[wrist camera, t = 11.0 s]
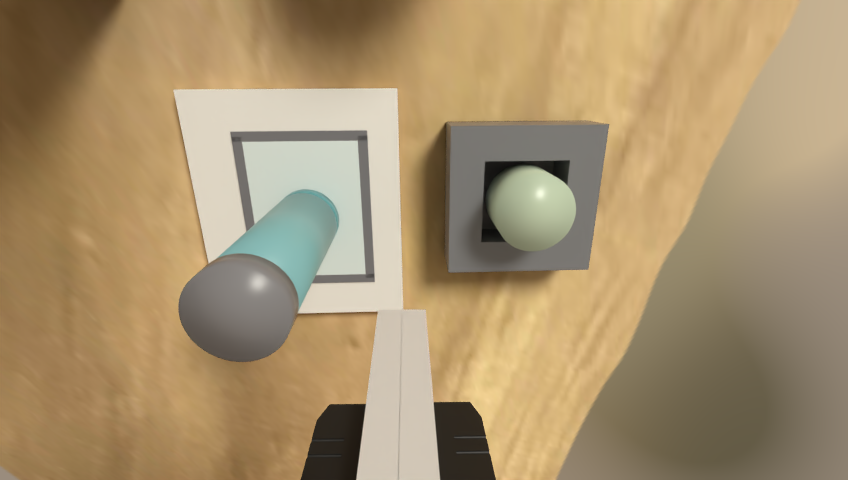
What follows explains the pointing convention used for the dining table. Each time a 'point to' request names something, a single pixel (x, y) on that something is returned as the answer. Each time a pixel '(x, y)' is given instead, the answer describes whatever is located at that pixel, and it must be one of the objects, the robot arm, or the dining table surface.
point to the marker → (260, 280)
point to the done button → (530, 207)
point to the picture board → (304, 178)
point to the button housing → (499, 149)
